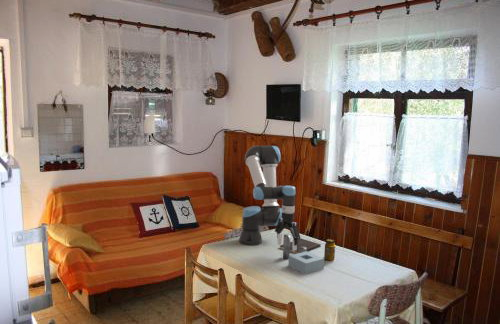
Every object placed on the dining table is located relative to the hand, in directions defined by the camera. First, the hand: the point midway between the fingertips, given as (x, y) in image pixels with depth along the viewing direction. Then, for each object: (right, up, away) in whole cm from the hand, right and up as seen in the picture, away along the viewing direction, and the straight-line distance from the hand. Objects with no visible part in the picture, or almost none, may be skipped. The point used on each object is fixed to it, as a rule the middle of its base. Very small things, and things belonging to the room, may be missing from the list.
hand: (286, 247), depth 244 cm
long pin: (0, -7, +1) cm, 7 cm away
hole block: (+10, -9, -12) cm, 18 cm away
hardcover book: (+11, -5, +22) cm, 25 cm away
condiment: (+25, -8, +1) cm, 26 cm away
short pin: (+10, -7, +4) cm, 13 cm away
